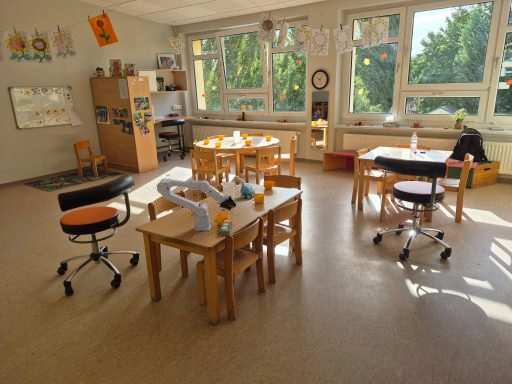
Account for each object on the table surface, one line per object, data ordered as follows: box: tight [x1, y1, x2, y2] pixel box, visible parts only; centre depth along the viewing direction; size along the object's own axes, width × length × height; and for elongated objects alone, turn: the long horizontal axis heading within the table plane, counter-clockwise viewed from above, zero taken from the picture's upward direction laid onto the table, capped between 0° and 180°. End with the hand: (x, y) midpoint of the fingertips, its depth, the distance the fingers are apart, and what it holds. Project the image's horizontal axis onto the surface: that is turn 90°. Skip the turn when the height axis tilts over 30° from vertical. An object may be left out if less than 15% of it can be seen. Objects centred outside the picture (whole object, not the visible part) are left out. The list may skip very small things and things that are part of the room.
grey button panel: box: [219, 221, 233, 236], centre depth 217 cm, size 6×15×2 cm, turn 178°
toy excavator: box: [233, 175, 256, 200], centre depth 278 cm, size 9×17×17 cm, turn 64°
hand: (233, 207), depth 219 cm, fingers open, 7 cm apart
